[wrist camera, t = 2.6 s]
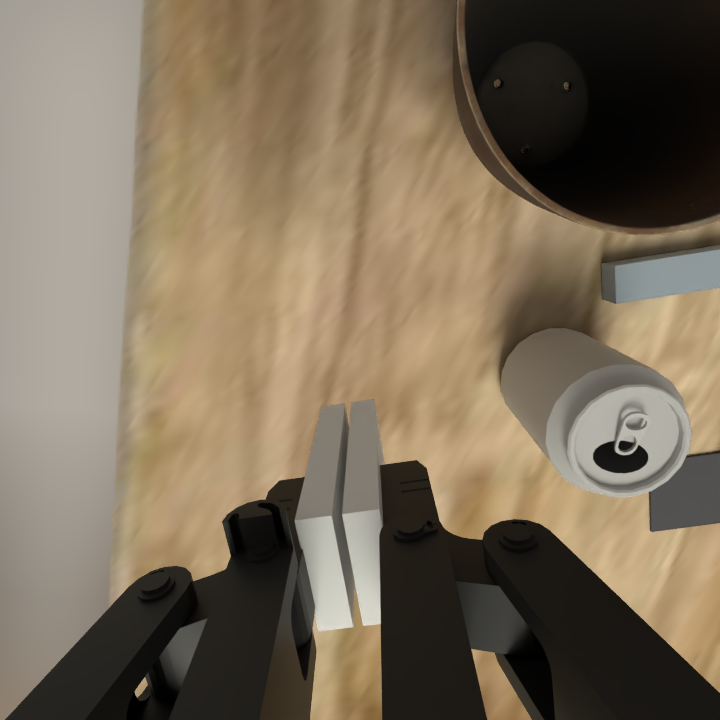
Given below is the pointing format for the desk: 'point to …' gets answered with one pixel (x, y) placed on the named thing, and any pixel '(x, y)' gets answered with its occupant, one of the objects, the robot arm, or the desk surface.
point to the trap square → (688, 495)
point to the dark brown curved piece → (596, 107)
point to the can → (597, 412)
